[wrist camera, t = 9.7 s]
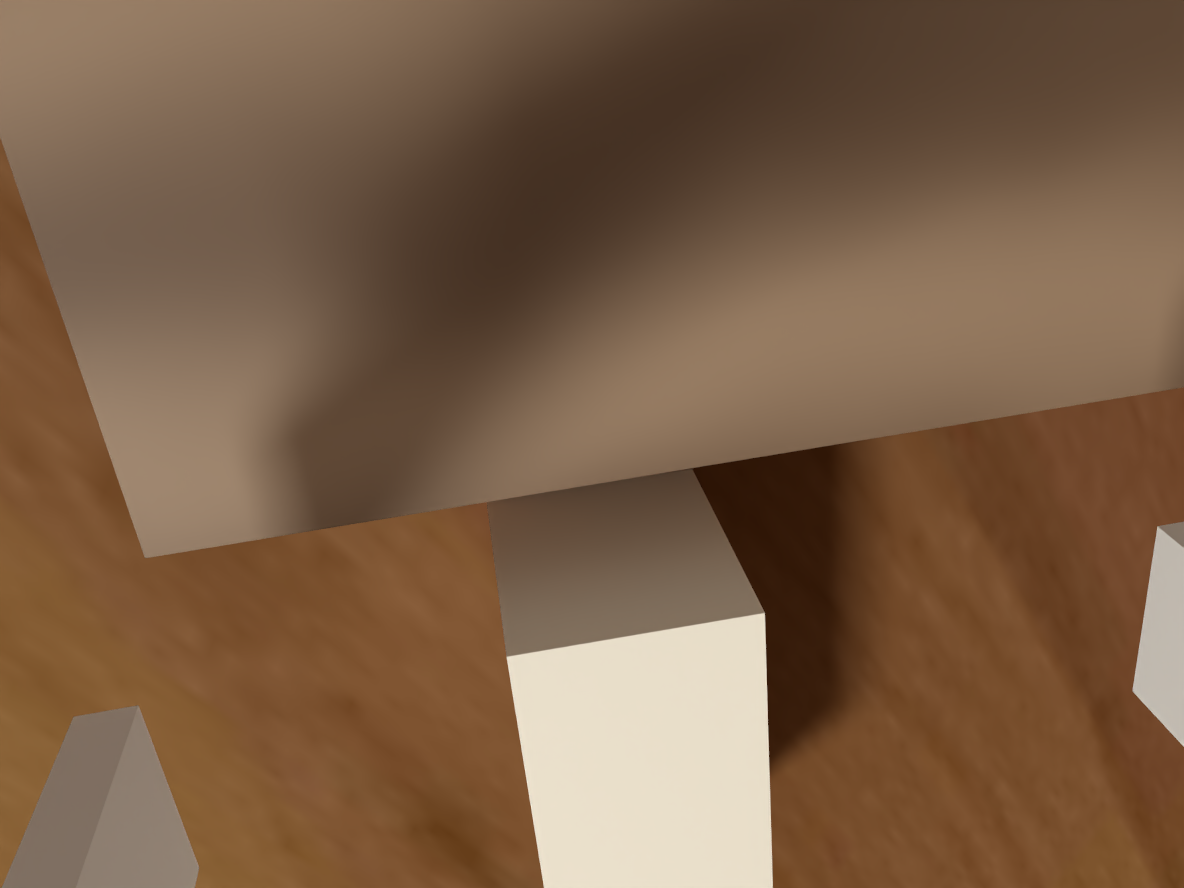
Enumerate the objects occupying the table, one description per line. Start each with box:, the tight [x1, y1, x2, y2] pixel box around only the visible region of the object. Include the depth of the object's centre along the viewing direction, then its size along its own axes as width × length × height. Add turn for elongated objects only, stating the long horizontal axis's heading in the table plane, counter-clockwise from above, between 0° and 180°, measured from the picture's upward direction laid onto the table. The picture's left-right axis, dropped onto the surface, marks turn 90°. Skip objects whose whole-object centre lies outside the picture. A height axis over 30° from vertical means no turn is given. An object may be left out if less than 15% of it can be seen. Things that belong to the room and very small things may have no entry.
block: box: [487, 469, 773, 888], centre depth 21 cm, size 5×4×9 cm
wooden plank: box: [0, 0, 1184, 558], centre depth 16 cm, size 10×20×4 cm, turn 96°
